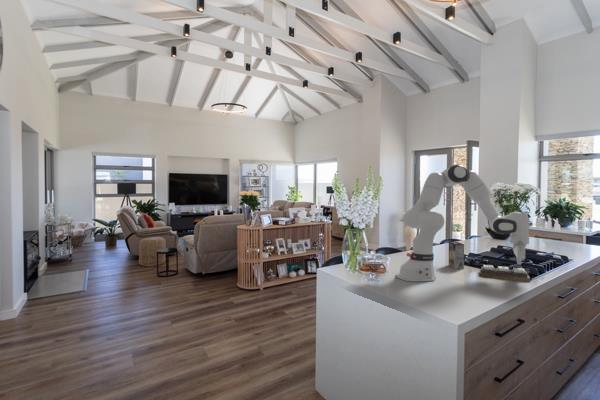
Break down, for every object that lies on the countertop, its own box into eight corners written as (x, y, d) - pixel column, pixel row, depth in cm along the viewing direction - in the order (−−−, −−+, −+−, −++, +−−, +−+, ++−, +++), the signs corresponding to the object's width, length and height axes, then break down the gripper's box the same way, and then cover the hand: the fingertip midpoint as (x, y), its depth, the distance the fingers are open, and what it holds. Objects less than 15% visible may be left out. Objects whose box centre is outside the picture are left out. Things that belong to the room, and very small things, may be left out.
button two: (525, 273, 170) (525, 270, 170) (514, 272, 173) (514, 269, 173) (524, 271, 175) (524, 268, 175) (513, 270, 177) (513, 267, 177)
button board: (530, 282, 167) (530, 274, 167) (479, 276, 180) (479, 269, 180) (527, 277, 176) (527, 270, 176) (479, 272, 188) (479, 265, 188)
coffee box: (448, 265, 206) (448, 241, 206) (457, 265, 206) (457, 241, 206) (454, 268, 197) (454, 244, 197) (464, 268, 197) (464, 244, 197)
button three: (493, 270, 178) (493, 267, 178) (483, 269, 181) (483, 266, 181) (493, 268, 182) (493, 265, 182) (483, 267, 185) (483, 264, 185)
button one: (508, 272, 174) (508, 268, 174) (498, 271, 177) (498, 267, 177) (508, 270, 179) (508, 266, 179) (498, 269, 181) (498, 265, 181)
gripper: (528, 243, 163) (528, 268, 163) (523, 238, 181) (523, 261, 181) (514, 242, 166) (514, 267, 167) (511, 237, 184) (510, 260, 184)
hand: (519, 264), depth 174 cm, fingers closed
